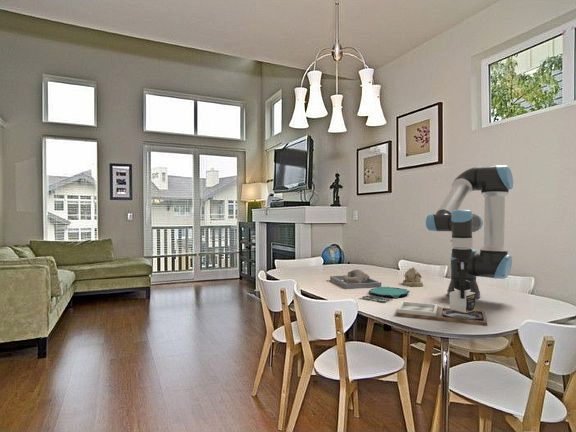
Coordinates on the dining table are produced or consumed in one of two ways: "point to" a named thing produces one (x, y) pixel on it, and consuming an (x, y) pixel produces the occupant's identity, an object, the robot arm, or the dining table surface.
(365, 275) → the grey rounded lump
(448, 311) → the board
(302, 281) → the dining table surface
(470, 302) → the medicine bottle
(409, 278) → the ceramic model
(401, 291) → the cutlery set
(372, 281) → the grey rectangular tray
